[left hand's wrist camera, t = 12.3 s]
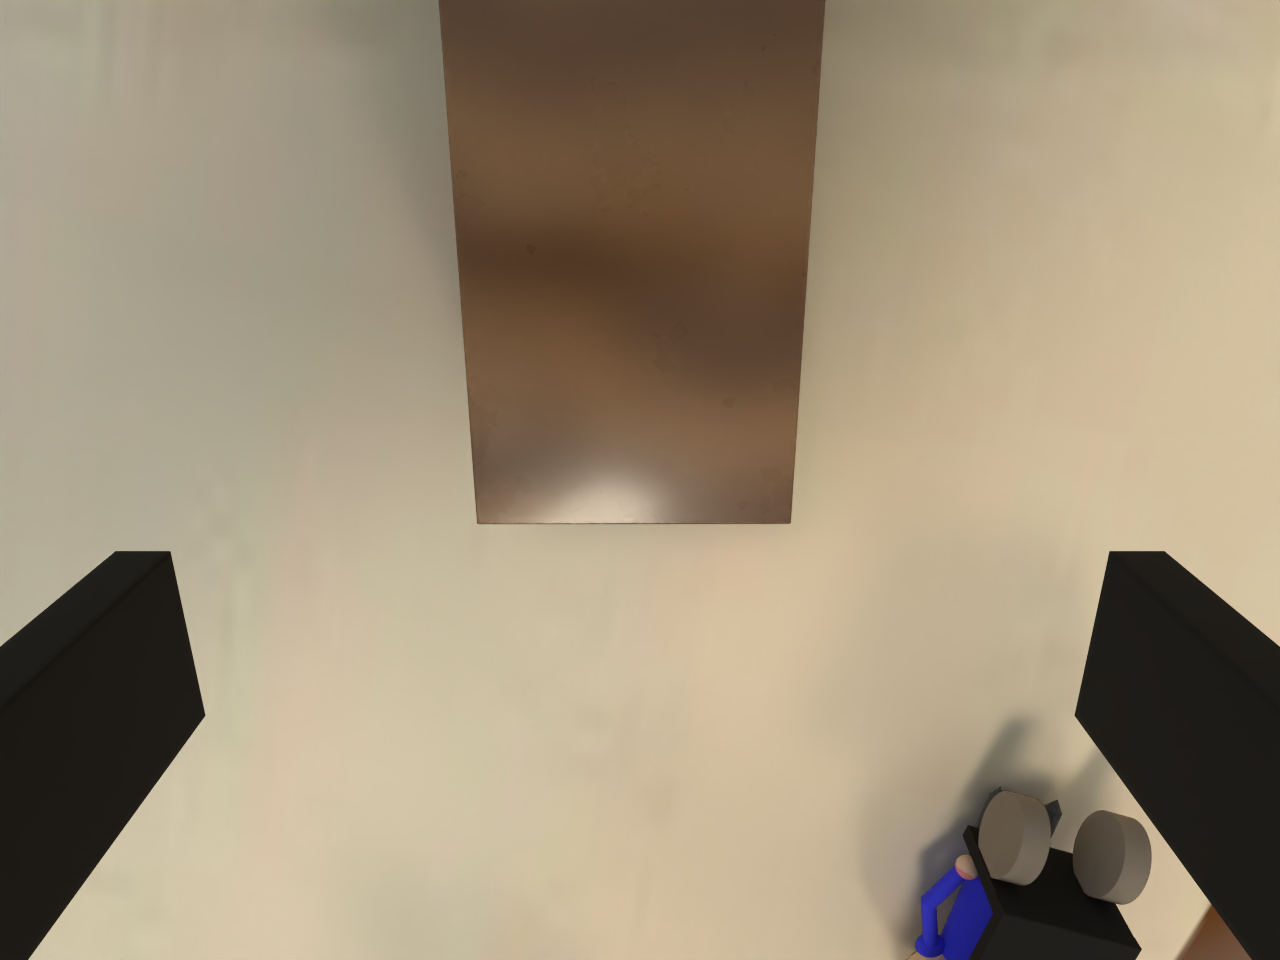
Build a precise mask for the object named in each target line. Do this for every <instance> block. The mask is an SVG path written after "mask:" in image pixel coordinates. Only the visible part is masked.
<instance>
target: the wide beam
mask: <svg viewBox="0 0 1280 960" xmlns="http://www.w3.org/2000/svg"><path fill="white" fill-rule="evenodd" d="M439 10H440V24H441V38H442V51H443V65H444V79H445V92H446V106H447V119H448V133H449V147H450V160H451V174H452V188H453V201H454V215H455V229H456V242H457V256H458V269H459V283H460V297H461V310H462V324H463V338H464V351H465V365H466V379H467V392H468V406H469V420H470V433H471V447H472V460H473V474H474V488H475V501H476V515H477V523H478V524H790V523H791V510H792V495H793V480H794V465H795V450H796V435H797V420H798V404H799V389H800V374H801V359H802V344H803V329H804V314H805V299H806V284H807V269H808V254H809V239H810V224H811V209H812V193H813V178H814V163H815V148H816V133H817V118H818V103H819V88H820V73H821V58H822V43H823V28H824V13H825V0H439Z"/></svg>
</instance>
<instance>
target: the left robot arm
mask: <svg viewBox="0 0 1280 960" xmlns="http://www.w3.org/2000/svg"><path fill="white" fill-rule="evenodd" d="M204 717H205V712H204V707H203V702H202V698H201V693H200V688H199V684H198V679H197V674H196V669H195V665H194V660H193V655H192V651H191V646H190V641H189V637H188V632H187V627H186V623H185V618H184V613H183V608H182V604H181V599H180V594H179V590H178V585H177V580H176V576H175V571H174V566H173V561H172V557H171V552H170V551H115V552H114V553H113V554H112V555H110V556H109V557H108V558H107V559H106V560H104V561H103V562H102V563H101V564H100V565H98V566H97V567H96V568H95V569H94V570H92V571H91V572H90V573H89V574H88V575H86V576H85V577H84V578H83V579H81V580H80V581H79V582H78V583H77V584H75V585H74V586H73V587H72V588H71V589H69V590H68V591H67V592H66V593H65V594H63V595H62V596H61V597H60V598H59V599H57V600H56V601H55V602H54V603H53V604H51V605H50V606H49V607H48V608H46V609H45V610H44V611H43V612H42V613H40V614H39V615H38V616H37V617H36V618H34V619H33V620H32V621H31V622H30V623H28V624H27V625H26V626H25V627H24V628H22V629H21V630H20V631H19V632H17V633H16V634H15V635H14V636H13V637H11V638H10V639H9V640H8V641H7V642H5V643H4V644H3V645H2V646H1V647H0V960H28V959H29V958H30V956H31V955H32V954H33V952H34V951H35V949H36V948H37V947H38V945H39V944H40V943H41V941H42V940H43V938H44V937H45V936H46V934H47V933H48V932H49V930H50V929H51V927H52V926H53V925H54V923H55V922H56V921H57V919H58V918H59V916H60V915H61V914H62V912H63V911H64V910H65V908H66V907H67V905H68V904H69V903H70V901H71V900H72V899H73V897H74V896H75V894H76V893H77V892H78V890H79V889H80V887H81V886H82V885H83V883H84V882H85V881H86V879H87V878H88V876H89V875H90V874H91V872H92V871H93V870H94V868H95V867H96V865H97V864H98V863H99V861H100V860H101V859H102V857H103V856H104V854H105V853H106V852H107V850H108V849H109V848H110V846H111V845H112V843H113V842H114V841H115V839H116V838H117V837H118V835H119V834H120V832H121V831H122V830H123V828H124V827H125V826H126V824H127V823H128V821H129V820H130V819H131V817H132V816H133V814H134V813H135V812H136V810H137V809H138V808H139V806H140V805H141V803H142V802H143V801H144V799H145V798H146V797H147V795H148V794H149V792H150V791H151V790H152V788H153V787H154V786H155V784H156V783H157V781H158V780H159V779H160V777H161V776H162V775H163V773H164V772H165V770H166V769H167V768H168V766H169V765H170V764H171V762H172V761H173V759H174V758H175V757H176V755H177V754H178V753H179V751H180V750H181V748H182V747H183V746H184V744H185V743H186V742H187V740H188V739H189V737H190V736H191V735H192V733H193V732H194V730H195V729H196V728H197V726H198V725H199V724H200V722H201V721H202V719H203V718H204ZM1075 717H1076V718H1077V719H1078V721H1079V722H1080V724H1081V725H1082V726H1083V728H1084V729H1085V730H1086V732H1087V733H1088V735H1089V736H1090V737H1091V739H1092V740H1093V742H1094V743H1095V744H1096V746H1097V747H1098V748H1099V750H1100V751H1101V753H1102V754H1103V755H1104V757H1105V758H1106V759H1107V761H1108V762H1109V764H1110V765H1111V766H1112V768H1113V769H1114V770H1115V772H1116V773H1117V775H1118V776H1119V777H1120V779H1121V780H1122V781H1123V783H1124V784H1125V786H1126V787H1127V788H1128V790H1129V791H1130V792H1131V794H1132V795H1133V797H1134V798H1135V799H1136V801H1137V802H1138V803H1139V805H1140V806H1141V808H1142V809H1143V810H1144V812H1145V813H1146V815H1147V816H1148V817H1149V819H1150V820H1151V821H1152V823H1153V824H1154V826H1155V827H1156V828H1157V830H1158V831H1159V832H1160V834H1161V835H1162V837H1163V838H1164V839H1165V841H1166V842H1167V843H1168V845H1169V846H1170V848H1171V849H1172V850H1173V852H1174V853H1175V854H1176V856H1177V857H1178V859H1179V860H1180V861H1181V863H1182V864H1183V865H1184V867H1185V868H1186V870H1187V871H1188V872H1189V874H1190V875H1191V876H1192V878H1193V879H1194V881H1195V882H1196V883H1197V885H1198V886H1199V887H1200V889H1201V890H1202V892H1203V893H1204V894H1205V896H1206V897H1207V899H1208V900H1209V901H1210V903H1211V904H1212V905H1213V907H1214V908H1215V909H1216V911H1217V912H1218V914H1219V915H1220V916H1221V918H1222V919H1223V920H1224V922H1225V923H1226V925H1227V926H1228V927H1229V929H1230V930H1231V931H1232V933H1233V934H1234V936H1235V937H1236V938H1237V940H1238V941H1239V943H1240V944H1241V945H1242V947H1243V948H1244V949H1245V951H1246V952H1247V954H1248V955H1249V956H1250V958H1251V959H1252V960H1280V647H1279V646H1278V645H1277V644H1276V643H1275V642H1273V641H1272V640H1271V639H1270V638H1269V637H1267V636H1266V635H1265V634H1264V633H1263V632H1261V631H1260V630H1259V629H1258V628H1256V627H1255V626H1254V625H1253V624H1252V623H1250V622H1249V621H1248V620H1247V619H1246V618H1244V617H1243V616H1242V615H1241V614H1240V613H1238V612H1237V611H1236V610H1235V609H1234V608H1232V607H1231V606H1230V605H1229V604H1227V603H1226V602H1225V601H1224V600H1223V599H1221V598H1220V597H1219V596H1218V595H1217V594H1215V593H1214V592H1213V591H1212V590H1211V589H1209V588H1208V587H1207V586H1206V585H1205V584H1203V583H1202V582H1201V581H1200V580H1199V579H1197V578H1196V577H1195V576H1194V575H1192V574H1191V573H1190V572H1189V571H1188V570H1186V569H1185V568H1184V567H1183V566H1182V565H1180V564H1179V563H1178V562H1177V561H1176V560H1174V559H1173V558H1172V557H1171V556H1170V555H1168V554H1167V553H1166V552H1165V551H1110V552H1109V557H1108V561H1107V566H1106V571H1105V576H1104V580H1103V585H1102V590H1101V594H1100V599H1099V604H1098V608H1097V613H1096V618H1095V623H1094V627H1093V632H1092V637H1091V641H1090V646H1089V651H1088V655H1087V660H1086V665H1085V669H1084V674H1083V679H1082V684H1081V688H1080V693H1079V698H1078V702H1077V707H1076V712H1075Z"/></svg>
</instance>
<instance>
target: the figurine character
mask: <svg viewBox="0 0 1280 960" xmlns="http://www.w3.org/2000/svg"><path fill="white" fill-rule="evenodd" d="M1061 815H1062V813H1061V810H1060V806H1059V803H1058V800H1056V801H1054V802H1051V803H1049V804H1047V805H1043V804H1042V803H1041V802H1040V801H1039V800H1038V799H1035V798H1032V797H1028V796H1024V795H1021V794H1017V793H1013V792H1010V791H1002V790H1001V786H1000V787H999V788H998V789H996V790H995V791H993V792H992V793H990V794H989V796H988V798H987V800H986V803H985V805H984V807H983V810H982V812H981V814H980V817H979V819H978V821H977V824H976V826H975V827H972V826H969V825H968V827H967V828H966V830H965V832H964V834H963V837H964V840H965V842H966V845H967V848H968V850H969V853H970V855H971V856H970V855H961V856H960V857H958V858H957V860H956V863H955V865H954V866H953V867H952V868H951V869H950V870H949V871H948V872H947V873H946V874H945V875H944V876H943V877H942V878H941V879H940V880H939V881H938V882H937V883H936V884H935V885H934V886H933V887H932V888H931V889H930V890H928V891H927V892H926V893H925V894H924V895H923V896H922V897H921V910H922V930H923V934H922V935H921V936H919V937H918V938H917V940H916V942H915V947H916V951H915V952H914V953H912V954H911V955H910V956H909V957H908V958H907V960H1136V958H1137V956H1138V955H1139V953H1140V951H1141V950H1142V949H1141V947H1140V946H1139V944H1138V942H1137V941H1136V939H1135V938H1134V937H1133V935H1132V933H1131V931H1130V929H1129V928H1128V926H1127V924H1126V922H1125V920H1124V918H1123V917H1122V915H1121V913H1120V911H1119V909H1118V908H1117V906H1116V904H1121V905H1123V904H1128V903H1130V902H1132V901H1133V900H1135V899H1136V898H1137V897H1138V896H1139V895H1140V893H1141V892H1142V891H1143V889H1144V887H1145V885H1146V883H1147V880H1148V877H1149V874H1150V869H1151V846H1150V841H1149V838H1148V835H1147V833H1146V831H1145V829H1144V827H1143V826H1142V825H1141V824H1140V823H1139V822H1138V821H1137V820H1135V819H1133V818H1130V817H1126V816H1123V815H1119V814H1115V813H1112V812H1108V811H1104V810H1100V811H1096V812H1094V813H1092V814H1091V815H1089V816H1088V817H1087V818H1086V819H1085V821H1084V822H1083V823H1082V825H1081V827H1080V829H1079V831H1078V833H1077V836H1076V839H1075V843H1074V848H1073V854H1072V853H1069V852H1065V851H1061V850H1057V849H1054V848H1050V840H1051V837H1052V835H1053V833H1054V831H1055V829H1056V826H1057V824H1058V822H1059V820H1060V818H1061ZM961 883H963V884H962V887H961V889H960V891H959V893H958V896H957V898H956V900H955V903H954V905H953V907H952V910H951V912H950V914H949V917H948V919H947V921H946V924H945V926H944V928H943V931H942V933H941V935H940V936H939V935H938V929H937V906H938V905H939V904H941V903H942V902H943V901H944V900H945V899H946V898H947V897H948V896H949V895H950V894H951V893H952V892H953V891H954V890H955V889H956V888H957V887H958V886H959V885H960V884H961ZM1115 903H1116V904H1115Z"/></svg>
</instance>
